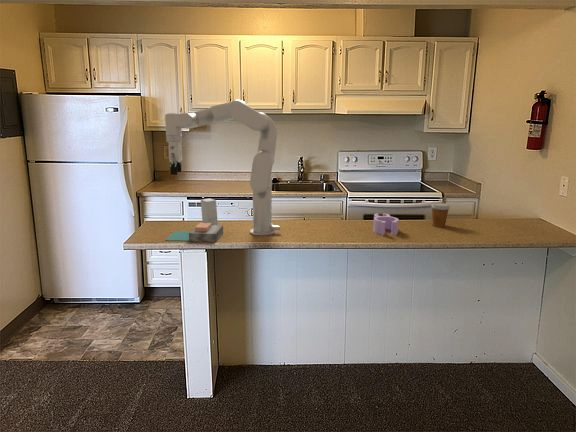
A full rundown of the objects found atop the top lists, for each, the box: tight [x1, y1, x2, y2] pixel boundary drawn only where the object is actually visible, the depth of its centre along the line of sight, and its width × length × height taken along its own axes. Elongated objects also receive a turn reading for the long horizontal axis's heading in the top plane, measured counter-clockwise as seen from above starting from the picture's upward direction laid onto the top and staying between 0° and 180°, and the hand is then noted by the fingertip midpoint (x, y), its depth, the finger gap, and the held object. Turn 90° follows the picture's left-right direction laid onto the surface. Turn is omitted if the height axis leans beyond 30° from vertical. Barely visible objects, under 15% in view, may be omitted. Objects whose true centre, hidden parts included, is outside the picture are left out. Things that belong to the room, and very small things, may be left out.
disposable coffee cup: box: [430, 202, 450, 228], centre depth 243 cm, size 10×10×12 cm
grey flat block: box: [188, 224, 224, 243], centre depth 222 cm, size 13×16×4 cm
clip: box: [372, 212, 400, 237], centre depth 235 cm, size 20×12×7 cm, turn 2°
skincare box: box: [200, 198, 219, 225], centre depth 241 cm, size 8×6×15 cm
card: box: [194, 222, 212, 232], centre depth 222 cm, size 6×9×2 cm, turn 176°
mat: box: [165, 230, 191, 242], centre depth 224 cm, size 11×16×1 cm
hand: (176, 173), depth 226 cm, fingers open, 9 cm apart
